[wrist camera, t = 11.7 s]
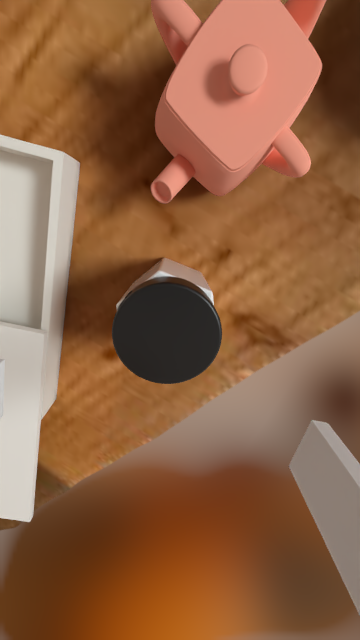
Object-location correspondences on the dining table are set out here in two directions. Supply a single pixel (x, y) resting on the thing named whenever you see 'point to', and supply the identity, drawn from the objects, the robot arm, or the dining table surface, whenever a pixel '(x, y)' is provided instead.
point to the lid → (20, 417)
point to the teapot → (234, 91)
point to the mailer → (36, 243)
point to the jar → (167, 324)
